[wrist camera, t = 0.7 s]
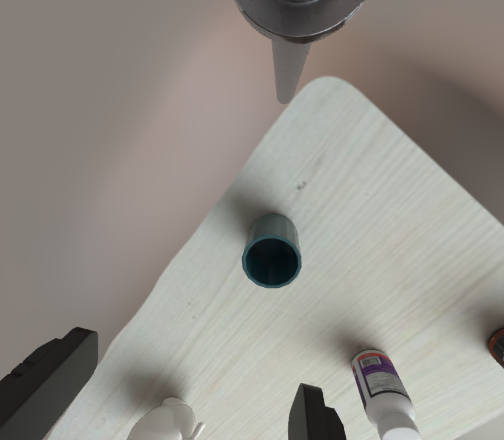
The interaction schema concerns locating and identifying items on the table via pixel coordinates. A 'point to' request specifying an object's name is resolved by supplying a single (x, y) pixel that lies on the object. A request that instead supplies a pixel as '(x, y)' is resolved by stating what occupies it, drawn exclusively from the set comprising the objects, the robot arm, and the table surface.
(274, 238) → the cup
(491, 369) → the table surface
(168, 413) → the teapot
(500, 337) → the supplement bottle
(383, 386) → the pill bottle
